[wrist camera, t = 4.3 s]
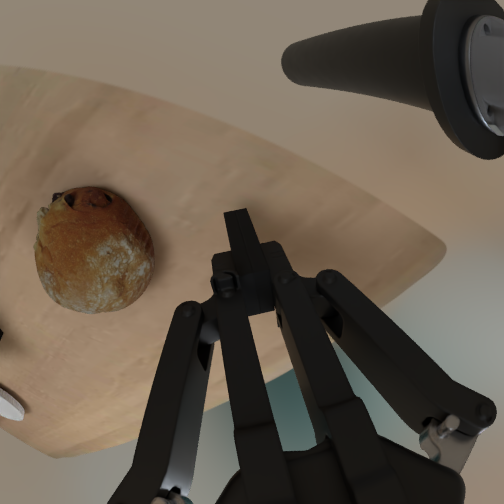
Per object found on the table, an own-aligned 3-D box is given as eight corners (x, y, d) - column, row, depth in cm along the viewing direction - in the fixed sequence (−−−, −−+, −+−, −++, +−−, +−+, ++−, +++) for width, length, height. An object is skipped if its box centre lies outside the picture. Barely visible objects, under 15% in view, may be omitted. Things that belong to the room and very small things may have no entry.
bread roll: (78, 259, 26) (75, 335, 22) (18, 198, 17) (-5, 290, 13) (165, 236, 26) (173, 318, 22) (121, 155, 17) (112, 257, 13)
